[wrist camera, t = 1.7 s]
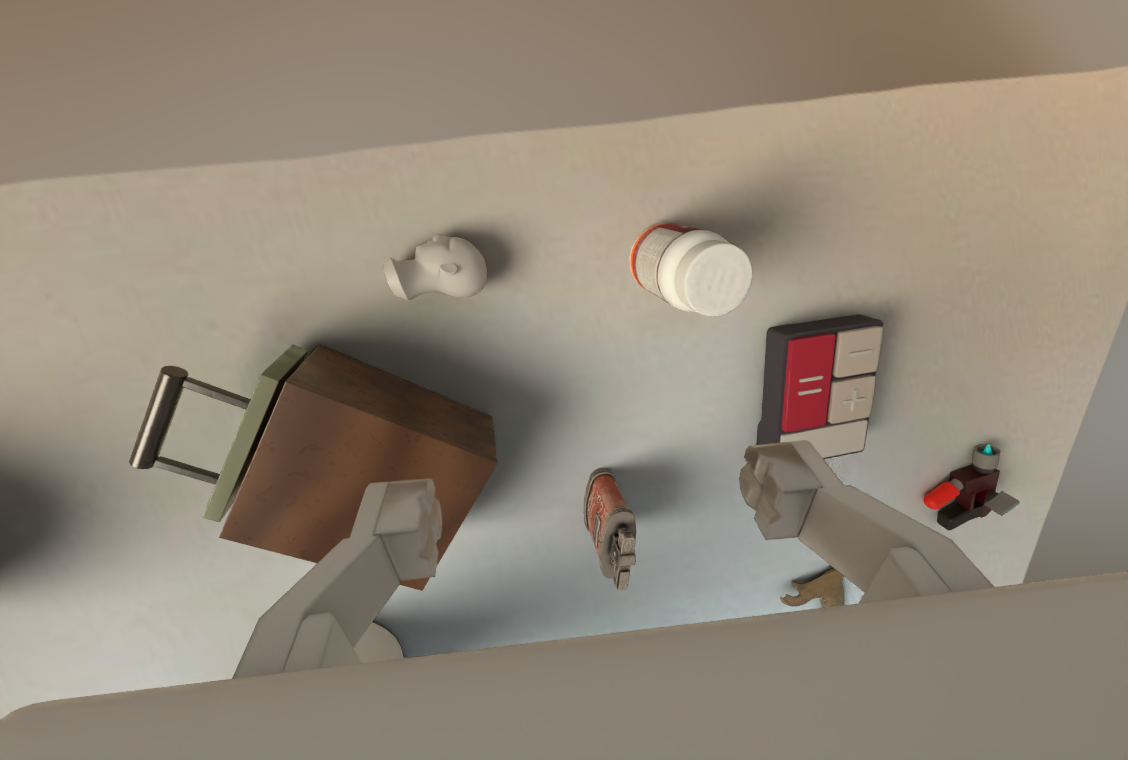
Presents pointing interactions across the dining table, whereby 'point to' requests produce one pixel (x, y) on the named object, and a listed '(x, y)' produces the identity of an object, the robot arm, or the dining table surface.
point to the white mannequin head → (438, 269)
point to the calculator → (820, 383)
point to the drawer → (246, 437)
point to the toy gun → (971, 491)
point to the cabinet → (355, 456)
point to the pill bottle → (691, 268)
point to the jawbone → (819, 590)
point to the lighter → (610, 527)
